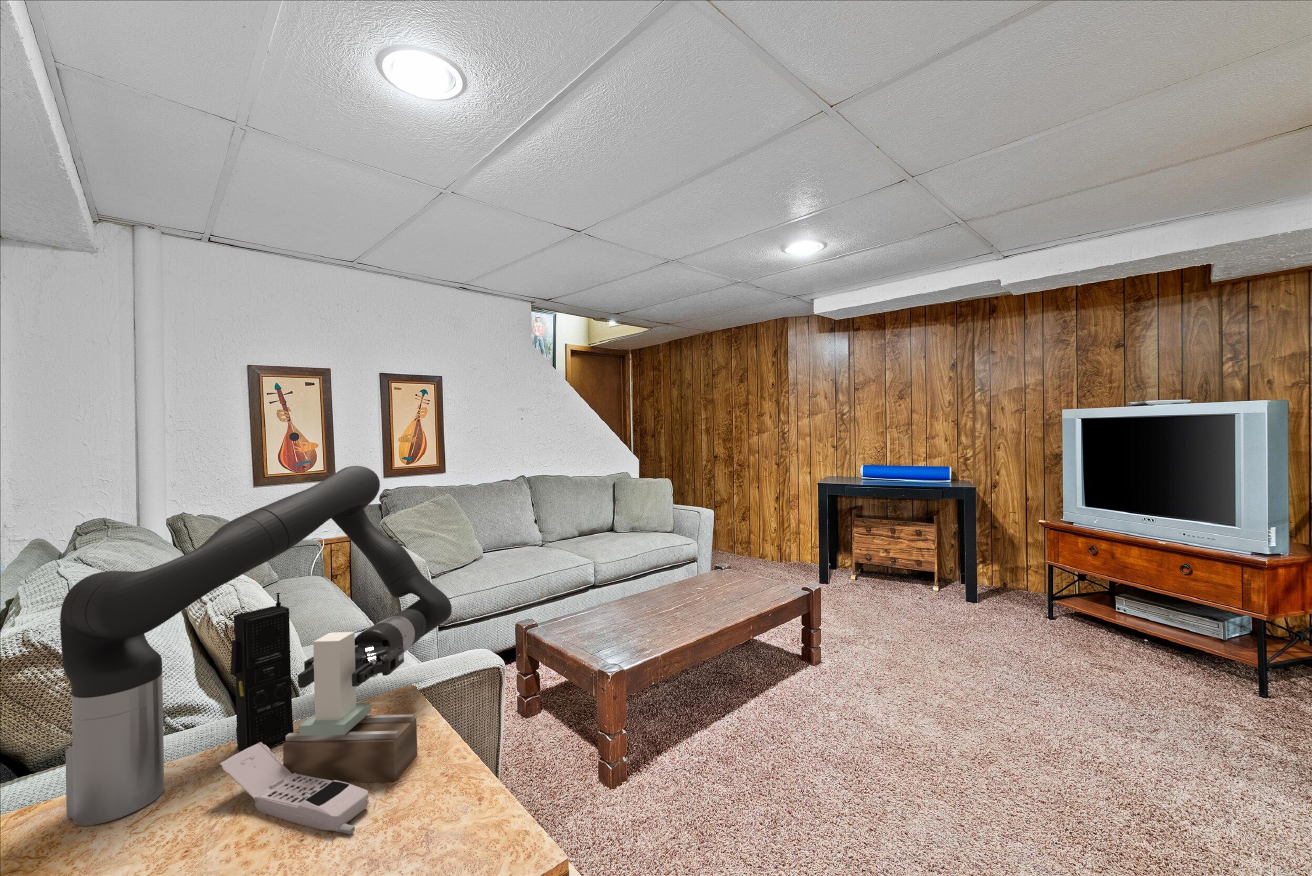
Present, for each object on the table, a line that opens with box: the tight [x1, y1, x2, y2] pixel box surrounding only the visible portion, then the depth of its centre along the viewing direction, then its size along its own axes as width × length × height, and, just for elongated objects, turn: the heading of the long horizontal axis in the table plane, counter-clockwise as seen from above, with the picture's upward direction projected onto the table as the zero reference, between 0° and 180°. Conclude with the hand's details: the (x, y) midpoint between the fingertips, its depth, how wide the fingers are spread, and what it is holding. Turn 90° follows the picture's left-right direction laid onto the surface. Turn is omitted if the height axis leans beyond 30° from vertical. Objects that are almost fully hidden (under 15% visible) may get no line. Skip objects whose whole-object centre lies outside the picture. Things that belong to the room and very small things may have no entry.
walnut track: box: [282, 713, 418, 784], centre depth 83 cm, size 17×7×7 cm, turn 88°
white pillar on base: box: [298, 631, 372, 736], centre depth 83 cm, size 7×7×14 cm
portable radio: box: [229, 592, 294, 752], centre depth 91 cm, size 8×6×25 cm
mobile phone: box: [219, 742, 370, 835], centre depth 74 cm, size 6×6×25 cm
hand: (327, 680), depth 81 cm, fingers open, 8 cm apart
